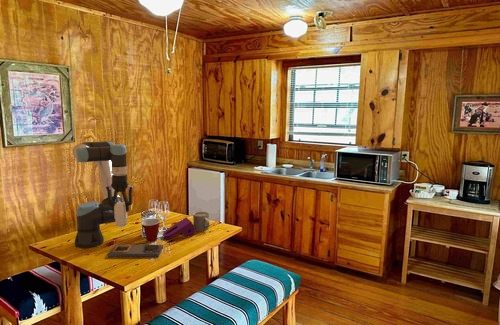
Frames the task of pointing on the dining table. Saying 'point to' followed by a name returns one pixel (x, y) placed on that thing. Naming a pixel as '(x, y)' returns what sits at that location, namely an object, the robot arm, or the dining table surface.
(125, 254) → the grey peg board
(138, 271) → the dining table surface
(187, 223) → the mounting bracket
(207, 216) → the coffee mug
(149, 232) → the plastic cup
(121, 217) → the peg
